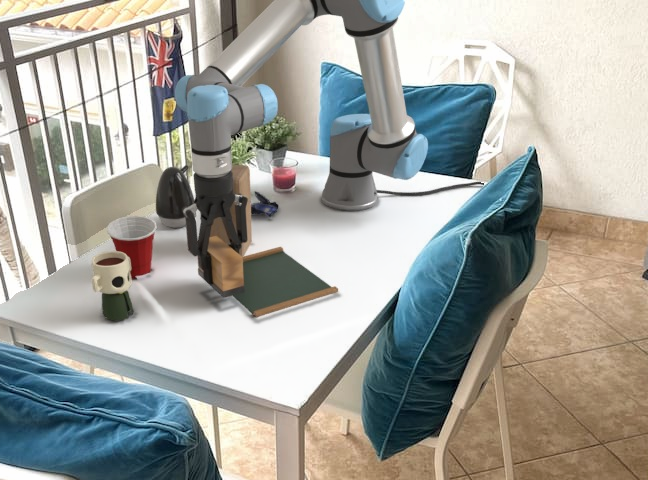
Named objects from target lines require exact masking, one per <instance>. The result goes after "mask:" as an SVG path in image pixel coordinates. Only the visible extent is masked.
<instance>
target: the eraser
mask: <svg viewBox="0 0 648 480" xmlns="http://www.w3.org/2000/svg"><path fill="white" fill-rule="evenodd" d="M207 253H208V254H209V255H210V256H211V267H212V279H213V284H211V285H209V287H211V288H212V289H213V290H214V291H215V293H217V294H218V295H219V296H220V297H221V298H222V299H226V298H229V297H233V295H236V294H239V293H243V292H245V287H244V278H243V257H244V256H243V257H242V256H241V255H239V254H238V253H237V252H236V251H234V250H233V249H232V248H231V247H230V246H228V245H227V244H226V243H225V242H224V241H222V240H221V239H220V238H219V237H217V236H214V237H210V238H209V244H208V250H207ZM196 258H197V259H198V256H196ZM197 267H198V268H197V275H198V276H199V277H200V278H201V279H202V280H204V274H203V270H202V269H201V268H200V267H199V262H198V261H197Z"/></svg>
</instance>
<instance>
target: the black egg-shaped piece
mask: <svg viewBox="0 0 648 480" xmlns="http://www.w3.org/2000/svg"><path fill="white" fill-rule="evenodd" d="M188 170H189V165H187V164H185V165H184V166H182V167H181V168H178V167H176V166H169V167H167V168H165V169H164V170H163V171H162V173H161V175H160V177H159V180H158V184H157V187H156V188H157V189H156V195H155V213H156V215H157V216H158V219H159V220H160V222H161V223H162V224H163V225H165V226H166V227H169V228H173V229H174V228H175V229H178V228H179V229H180V228H184V227H186V220H185V216H184V214H183V212H182V208H183V207H187V208H188V207H189V206H191V205H193V204H194V200H195V197H194V193H193V190H192V188H191V187H192V186H191V185H190V182H189V180H188V178H187V177H186V175H185V173H186V172H187V171H188Z"/></svg>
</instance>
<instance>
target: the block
mask: <svg viewBox="0 0 648 480" xmlns="http://www.w3.org/2000/svg"><path fill="white" fill-rule="evenodd" d="M231 171H232V173H233V192H234V194H236V195H238V194H239V193H241V194H242V195H244V196H245V197H247V198H248V201H247V205H246V222H247V238H248V240H247V242H246V243H242V244H241V245H242V247H241V248H240V249H239V254H240V255H241V256H242V257H244V256H246V253H247V251H248V249H250V245H251V244H252V242H253V234H252V233H253V232H252V231H253V230H252V214H251V204H252V203H251V202H252V201H251V199H252V198H251V170H250V167H249V165H245V164H232V169H231ZM230 212H231V215H232V221H233V224H234V227H235V230H236V216H235V204H234V202H233V204H232V206H231V208H230ZM199 214H200V215H199V217H200V216H201V212H200V211H199ZM236 233H237V230H236ZM214 236H217V237H219V238H220V239H221V240H222V241H224V242H225V243H226V244H227V245H228V244H230V245H231V243H230V242H229V239H228V236H227V233H226V230H225V227H224V224H223V221H222V218H221V217H218V218H216V219H214V222H213V225H212V226H211V232H210V237H214Z"/></svg>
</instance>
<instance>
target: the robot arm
mask: <svg viewBox="0 0 648 480" xmlns="http://www.w3.org/2000/svg"><path fill="white" fill-rule="evenodd" d="M405 5H406V1H405V0H273V1H272V2H271V3H270V4H269V5H268V6H267V7H266V8H265V9H264V10H263V11H262V12H261V13H260V14H259V15H258V16H257V17H256V18H255V19H254V20H253V21H251V23H250V24H249V25H248V26H247V27H246V28H245V29H244V30H243V31H242V32H241V33H240V34H239V35H238V36H237V37H236V38H235V39H233V41H232V42H231V43H230V44H229V45H228V46H226V47H225V48H224V50H223V51H222V52H221V53H220V54H219V55H217V56H216V57H215V58H214V60H212V61H211V63H209V65H207V67H206V68H204V69H203V70H202V71H201V72H200V73H199V74H198V75H197V74H187V75H184V76H182V77H180V79H179V80H178V81H177V83H176V85H175V88H174V99H175V103H176V105H177V106H178V108H179V109H180V110H181V111H183V112H185V113H186V116H187V124H188V130H189V132H188V133H189V140H190V149H191V165H192V171H193V185H194V186H193V187H194V194H195V197H194V204H193V205H191V206H189V207H188V208H187V207H183V208H182V212H183V214H184V216H185V220H186V226H185V230H186V241H187V242H186V243H187V250H188V252H189V253H190V254H191V255H192V256H194V257H197V256H198V258H197V263H198V262H199V267H200V268H201V269H202V270H203V274H204V279H203V281H205V283H207V284H208V286H210V285H211V284H213V279H212V267H211V256H210V255H209V254H208V253H207V250H208V244H209V238H210V232H211V226H212V225H213V222H214V219H216V218H218V217H221V218H222V221H223V224H224V227H225V230H226V233H227V236H228V239H229V242H230V243H231V245H230V244H228V246H230V247H231V248H232V249H233V250H234V251H236V252H237V253H238V254H239V249H240V248H241V247H242V245H241V244H242V243H246V242H247V240H248V238H247V222H246V205H247V201H248V198H247V197H245V196H244V195H242V194H241V193H239V194H238V195H236V194H234V192H233V173H232V171H231V169H232V165H233V159H232V136H234V135H237V134H239V133H242V132H243V133H244V132H246V131H249V130H252V129H256V128H260V127H263V126H264V125H266V124H268V123H271V122H272V121H274V119H275V118H276V116H277V114H278V110H279V108H278V107H279V106H278V98H277V95H276V93H275V92H274V90H273V89H272V88H271V87H270V86H269V85H267V84H264V83H259V84H252V85H250V86H243V85H244V84H245V83H246V82H247V81H248V80H249V79H250V78H251V77H252V76H253V75H254V74H255V73H256V72H258V70H259V69H260V68H261V67H262V66H263V65H264V64H265V63H266V62H267V61H268V60H269V59H270V58H271V57H272V56H273V55H274V54H275V53H276V52H277V51H278V50H279V49H280V48H281V47H282V46H283V45H284V44H285V43H286V42H287V41H288V40H289V39H290V38H291V36H292V35H294V34H295V33H296V31H298V29H299V28H301V27H302V26H308V25H310V24H311V23H312V22H313V21H314V20H315V19H317V18H318V17H322V16H327V15H328V16H329V15H330V16H336V17H341V18H342V21H343V22H342V23H343V27H344V32H345V33H346V35H347V36H349V37H351V38H352V39H353V40H354V44H355V49H356V54H357V59H358V63H359V69H360V74H361V78H362V84H363V87H364V94H365V97H366V102H367V107H368V112H369V113H352V114H345V115H341V116H338V117H336V118H335V119H334V120H332V122H331V124H330V134H329V173H328V176H327V179H326V182H325V185H324V188H323V190H322V194H321V201H322V203H323V204H324V205H325V206H327V207H329V208H330V209H331V208H332V209H334V210H339V211H348V212H350V211H351V212H354V211H355V212H356V211H363V210H368V209H371V208H372V207H374V206H376V205H377V203H378V196H379V195H378V194H385V195H392V196H393V195H394V196H422V195H429V194H430V195H431V194H435V193H438V192H442V191H446V190H447V191H448V190H452V189H456V188H463V187H464V188H465V187H472V186H476V185H481V186H484V183H485V182H484V183H481V182H482V181H473V182H468V183H467V182H466V183H457V184H453V185H448V186H443V187H439V188H434V189H431V190H426V191H415V192H414V191H413V192H409V191H408V192H407V191H403V192H402V191H391V190H382V189H377V187H376V183H375V180H374V175H373V173H375V174H379V175H382V176H385V177H389V178H393V179H395V180H396V179H398V180H403V181H408V180H411V179H412V178H414V177H415V176H416V175H417V174H418V173H419V172H420V170H421V169H422V167H423V165H424V163H425V160H426V157H427V155H428V150H429V141H428V139H427V137H426V136H425V135H423V134H422V133H417V130H416V123H415V120H414V118H412V117H411V116H409V115H408V113H407V107H406V102H405V96H404V90H403V82H402V77H401V71H400V64H399V58H398V52H397V46H396V40H395V33H394V27H395V26H396V24H397V23H398V21H399V16H400V15H401V14H402V12H403V10H404V7H405ZM233 202H234V204H235V216H236V230H237V233H236V230H235V227H234V224H233V221H232V215H231V212H230V208H231V206H232V204H233ZM197 211H199V213H200V212H201V216H200V215H199V217H200V218H199V219H200V225H199V232H198V228H197V220H196V217H197ZM239 255H240V254H239Z"/></svg>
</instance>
